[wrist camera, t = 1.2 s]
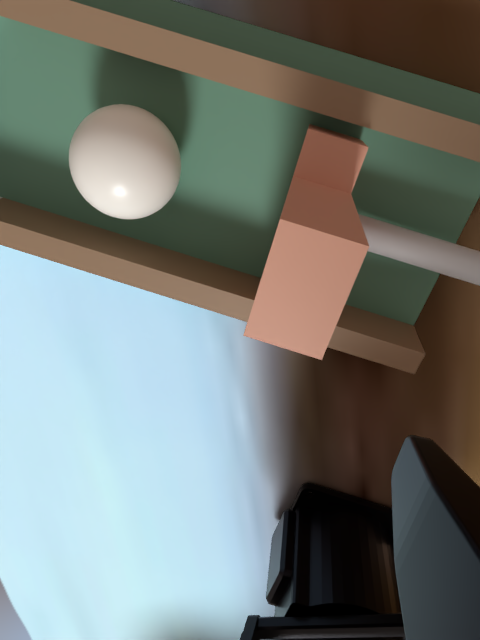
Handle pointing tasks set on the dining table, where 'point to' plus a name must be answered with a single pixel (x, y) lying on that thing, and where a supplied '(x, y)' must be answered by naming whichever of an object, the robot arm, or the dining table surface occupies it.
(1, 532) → the dining table surface
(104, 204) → the ball
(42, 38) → the pitch
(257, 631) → the robot arm
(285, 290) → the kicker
